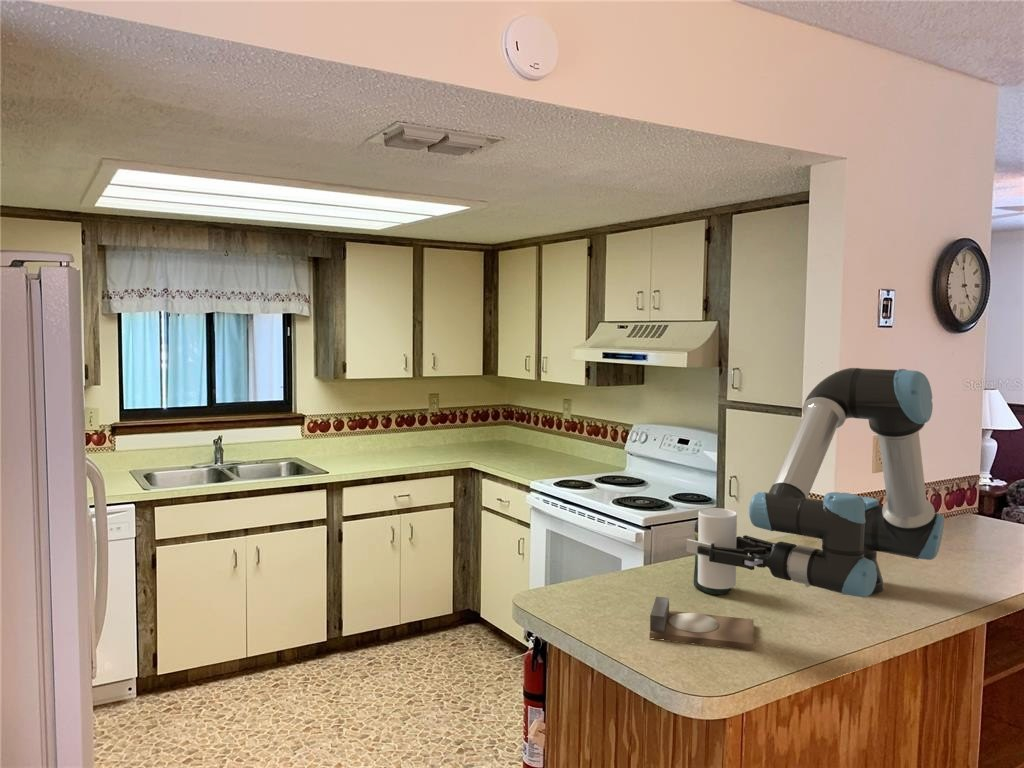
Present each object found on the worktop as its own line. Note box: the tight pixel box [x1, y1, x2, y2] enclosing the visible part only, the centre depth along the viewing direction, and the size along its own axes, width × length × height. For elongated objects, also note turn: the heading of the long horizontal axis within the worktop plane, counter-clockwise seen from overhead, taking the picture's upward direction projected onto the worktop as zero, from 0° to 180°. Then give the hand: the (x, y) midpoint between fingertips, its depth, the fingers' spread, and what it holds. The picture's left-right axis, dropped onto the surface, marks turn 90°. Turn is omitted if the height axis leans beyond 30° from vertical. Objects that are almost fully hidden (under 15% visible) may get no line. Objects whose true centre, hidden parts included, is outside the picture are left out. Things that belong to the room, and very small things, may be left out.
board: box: [649, 596, 755, 651], centre depth 174 cm, size 22×14×5 cm, turn 73°
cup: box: [697, 507, 738, 589], centre depth 172 cm, size 8×8×16 cm
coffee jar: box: [693, 519, 732, 595], centre depth 200 cm, size 10×8×19 cm
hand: (698, 541), depth 175 cm, fingers closed on cup, 8 cm apart
